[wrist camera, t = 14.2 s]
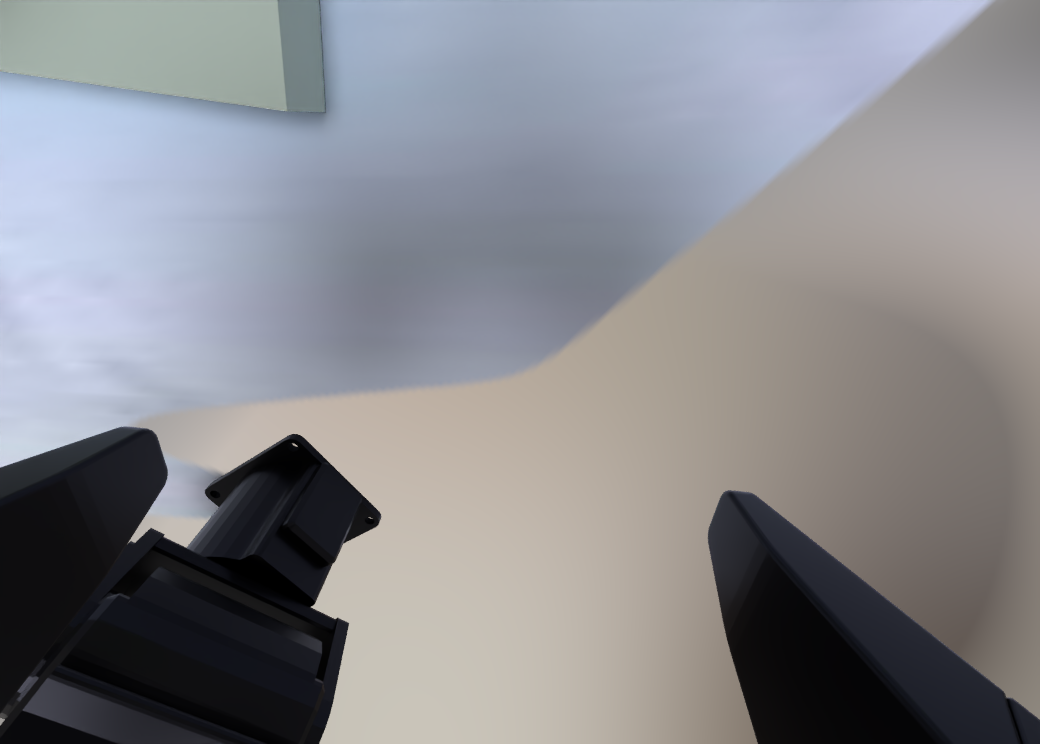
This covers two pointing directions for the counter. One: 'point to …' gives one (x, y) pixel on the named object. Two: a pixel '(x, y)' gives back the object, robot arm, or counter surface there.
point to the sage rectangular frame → (173, 47)
